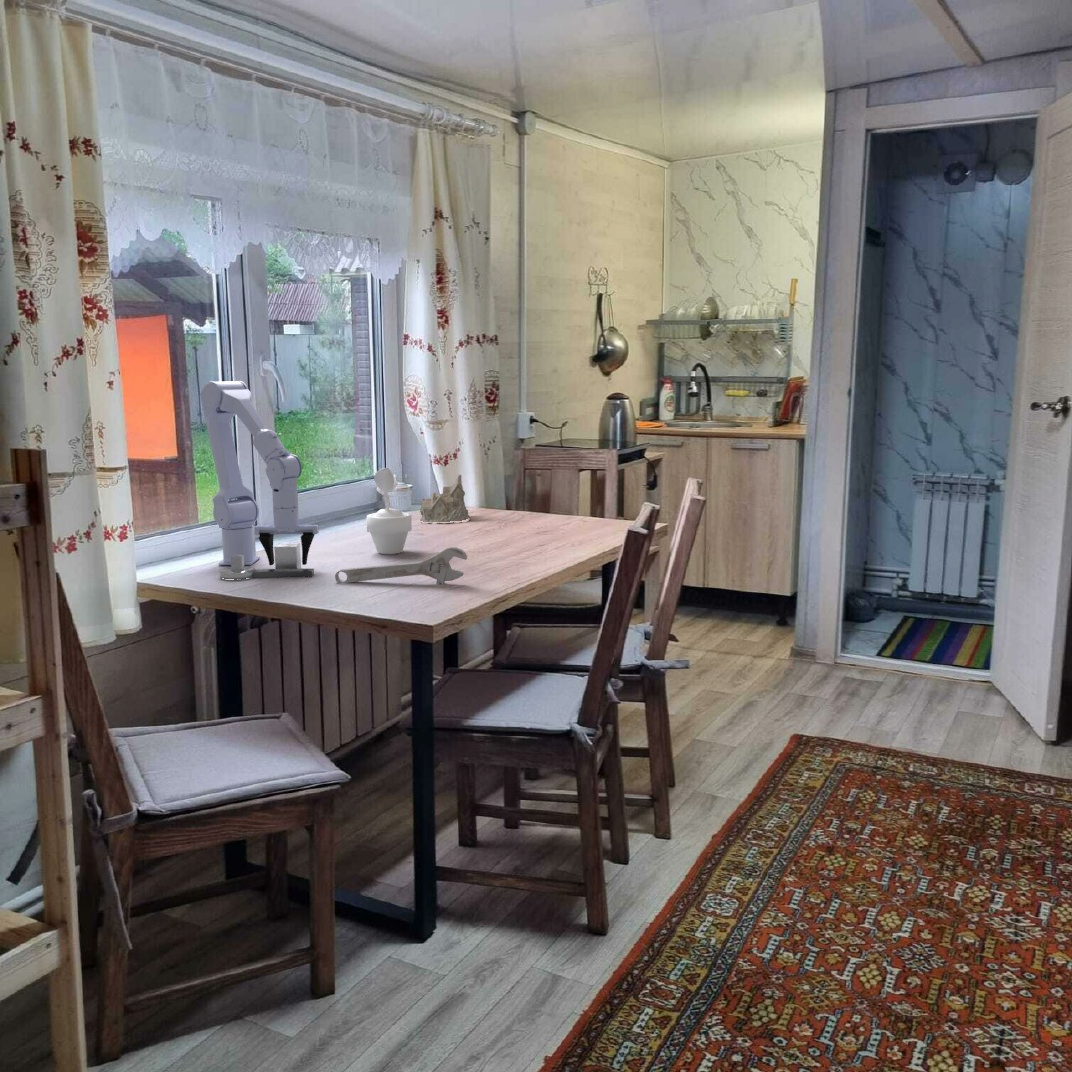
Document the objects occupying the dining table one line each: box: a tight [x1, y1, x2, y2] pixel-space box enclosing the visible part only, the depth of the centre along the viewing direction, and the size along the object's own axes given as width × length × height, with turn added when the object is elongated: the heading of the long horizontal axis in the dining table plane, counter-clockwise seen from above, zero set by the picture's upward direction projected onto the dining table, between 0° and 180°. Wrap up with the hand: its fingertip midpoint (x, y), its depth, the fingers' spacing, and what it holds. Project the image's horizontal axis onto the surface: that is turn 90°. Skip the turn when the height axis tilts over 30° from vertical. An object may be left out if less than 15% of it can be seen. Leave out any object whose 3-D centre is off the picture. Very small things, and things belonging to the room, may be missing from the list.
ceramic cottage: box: [419, 474, 471, 522], centre depth 314 cm, size 16×16×15 cm
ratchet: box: [219, 555, 315, 581], centre depth 232 cm, size 8×21×5 cm, turn 93°
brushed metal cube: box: [273, 542, 302, 569], centre depth 239 cm, size 5×5×6 cm
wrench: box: [334, 546, 468, 585], centre depth 224 cm, size 8×2×30 cm
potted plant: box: [366, 458, 413, 555], centre depth 260 cm, size 13×12×25 cm
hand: (288, 564), depth 239 cm, fingers open, 7 cm apart
